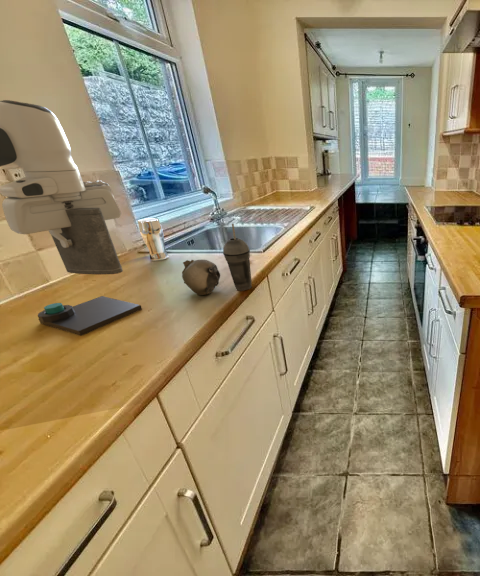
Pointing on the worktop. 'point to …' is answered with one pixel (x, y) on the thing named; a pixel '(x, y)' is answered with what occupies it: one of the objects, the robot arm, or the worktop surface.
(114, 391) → the worktop surface
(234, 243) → the beverage cup
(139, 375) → the worktop surface
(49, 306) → the tare button
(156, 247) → the chrome pepper mill
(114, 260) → the flask
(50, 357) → the worktop surface
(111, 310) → the scale
